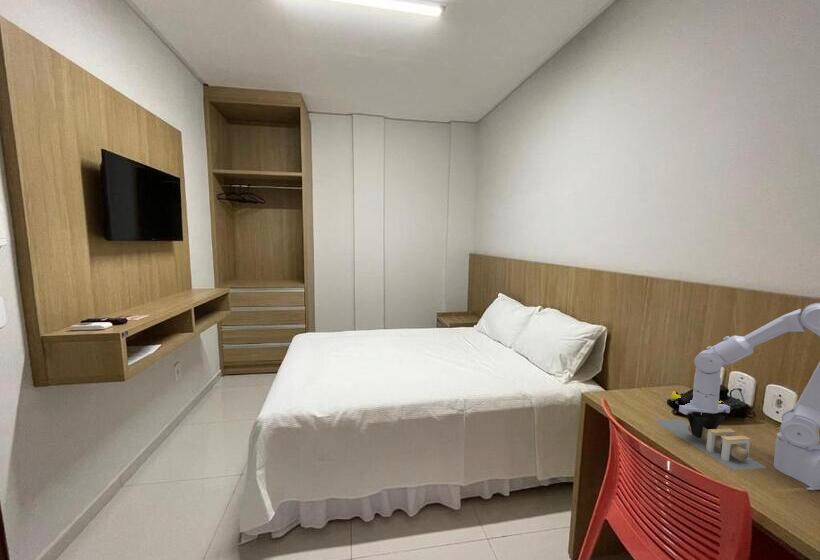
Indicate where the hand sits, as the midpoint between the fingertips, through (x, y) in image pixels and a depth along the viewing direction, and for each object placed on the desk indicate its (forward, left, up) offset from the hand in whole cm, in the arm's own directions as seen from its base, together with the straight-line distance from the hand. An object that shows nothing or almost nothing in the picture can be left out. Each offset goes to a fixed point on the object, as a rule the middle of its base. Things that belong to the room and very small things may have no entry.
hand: (702, 435), depth 98 cm
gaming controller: (+21, -19, -3) cm, 28 cm away
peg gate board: (0, 0, -2) cm, 2 cm away
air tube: (-4, 0, -1) cm, 4 cm away
